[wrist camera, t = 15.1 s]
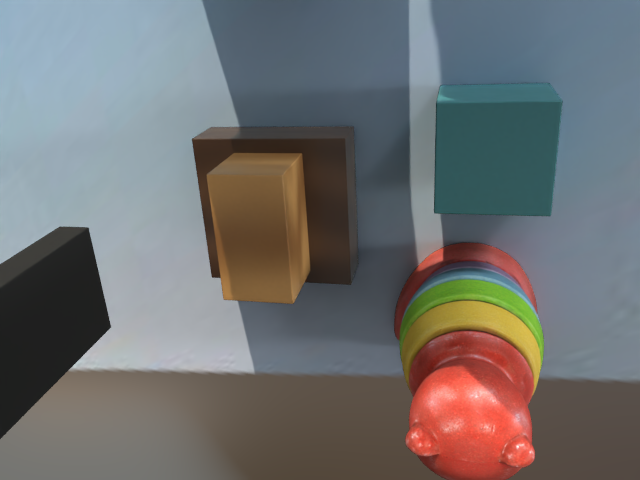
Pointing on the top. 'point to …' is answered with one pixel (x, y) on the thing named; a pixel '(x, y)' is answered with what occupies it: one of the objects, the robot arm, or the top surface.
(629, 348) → the top surface
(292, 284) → the oak brick
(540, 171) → the teal cube
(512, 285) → the stacking bear
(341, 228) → the walnut base
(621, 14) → the top surface
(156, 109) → the top surface
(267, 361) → the top surface
